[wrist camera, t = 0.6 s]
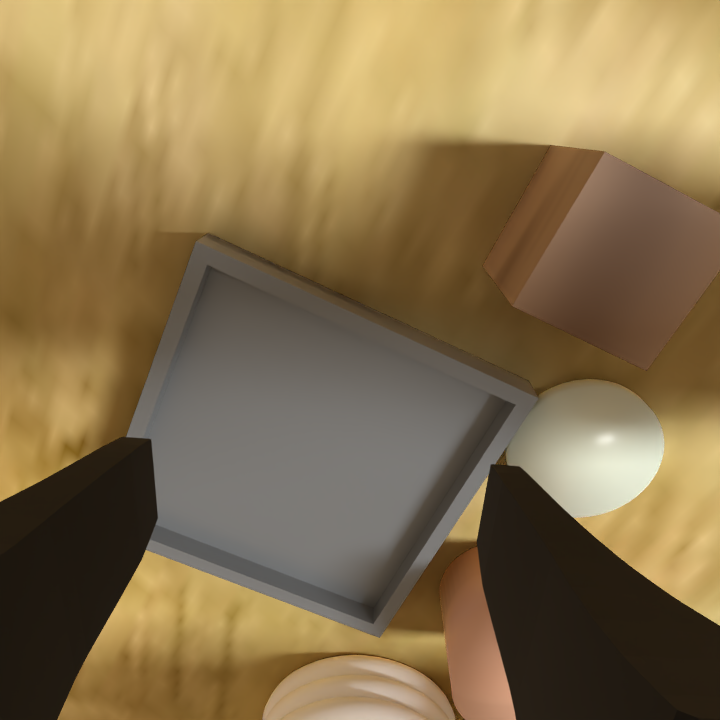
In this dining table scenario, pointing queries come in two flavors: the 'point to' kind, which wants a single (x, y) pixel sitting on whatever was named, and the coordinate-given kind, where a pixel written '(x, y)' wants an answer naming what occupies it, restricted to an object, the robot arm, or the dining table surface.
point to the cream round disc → (357, 692)
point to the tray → (312, 437)
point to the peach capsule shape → (472, 644)
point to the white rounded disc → (589, 445)
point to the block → (606, 253)
